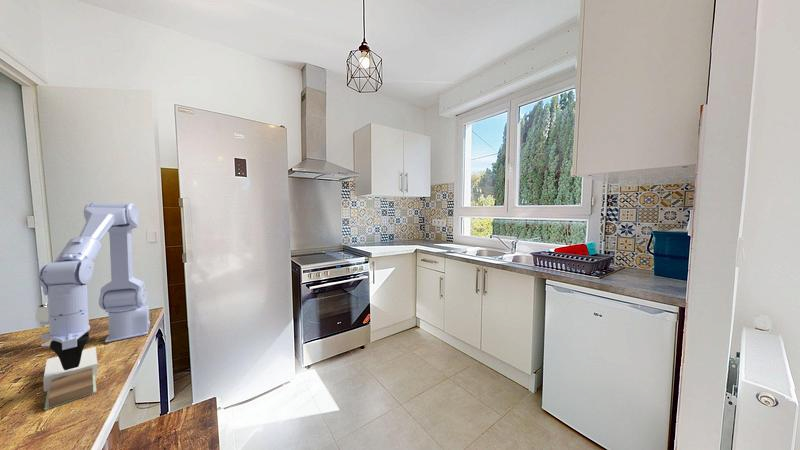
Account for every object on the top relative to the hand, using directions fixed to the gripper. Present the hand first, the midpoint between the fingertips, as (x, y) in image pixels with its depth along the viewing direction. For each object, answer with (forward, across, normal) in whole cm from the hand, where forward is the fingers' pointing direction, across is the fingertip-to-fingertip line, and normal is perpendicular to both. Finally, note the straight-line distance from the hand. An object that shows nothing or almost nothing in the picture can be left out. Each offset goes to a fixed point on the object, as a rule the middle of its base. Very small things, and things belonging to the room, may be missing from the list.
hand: (71, 367), depth 61 cm
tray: (+4, -6, 0) cm, 8 cm away
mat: (+4, +4, 0) cm, 6 cm away
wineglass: (+4, -34, -4) cm, 34 cm away
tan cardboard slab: (+4, +4, 0) cm, 6 cm away
